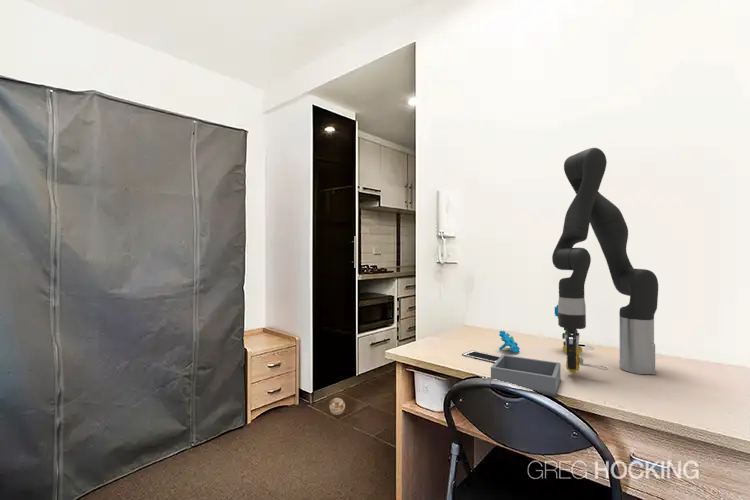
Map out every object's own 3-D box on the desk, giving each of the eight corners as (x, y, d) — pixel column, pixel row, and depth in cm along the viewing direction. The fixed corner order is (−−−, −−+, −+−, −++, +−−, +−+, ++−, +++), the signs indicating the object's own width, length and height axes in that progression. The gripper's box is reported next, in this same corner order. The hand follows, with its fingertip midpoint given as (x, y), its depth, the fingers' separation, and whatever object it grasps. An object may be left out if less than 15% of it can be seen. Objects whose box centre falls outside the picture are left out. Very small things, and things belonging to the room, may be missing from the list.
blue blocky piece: (518, 354, 132) (498, 332, 136) (506, 363, 135) (487, 341, 138) (524, 347, 142) (506, 326, 145) (512, 355, 144) (495, 335, 148)
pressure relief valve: (565, 368, 116) (565, 337, 116) (610, 376, 109) (609, 342, 109) (561, 373, 112) (561, 340, 112) (607, 381, 104) (607, 346, 104)
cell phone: (498, 365, 124) (498, 362, 124) (460, 356, 134) (460, 354, 134) (508, 360, 129) (508, 358, 129) (471, 352, 139) (471, 350, 139)
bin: (560, 379, 109) (560, 362, 109) (555, 396, 96) (555, 378, 96) (502, 369, 118) (502, 354, 118) (490, 384, 105) (490, 367, 105)
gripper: (585, 316, 104) (586, 375, 104) (585, 309, 117) (586, 361, 117) (556, 314, 108) (557, 371, 108) (559, 307, 120) (560, 358, 120)
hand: (572, 365), depth 112 cm, fingers closed on pressure relief valve, 5 cm apart
